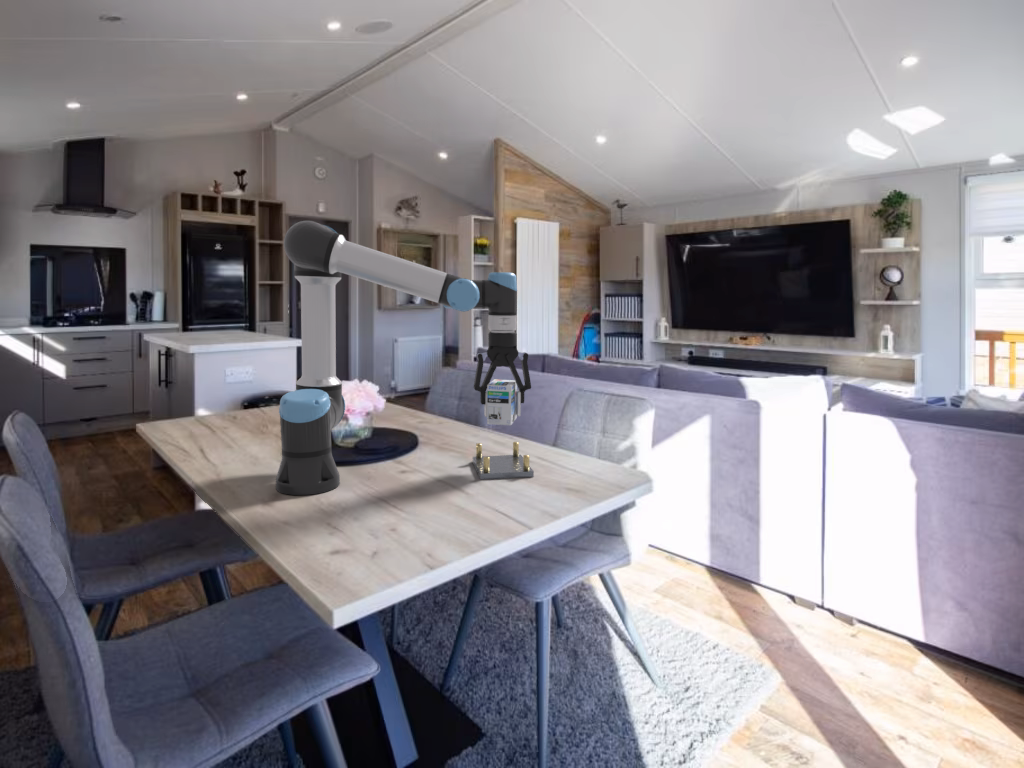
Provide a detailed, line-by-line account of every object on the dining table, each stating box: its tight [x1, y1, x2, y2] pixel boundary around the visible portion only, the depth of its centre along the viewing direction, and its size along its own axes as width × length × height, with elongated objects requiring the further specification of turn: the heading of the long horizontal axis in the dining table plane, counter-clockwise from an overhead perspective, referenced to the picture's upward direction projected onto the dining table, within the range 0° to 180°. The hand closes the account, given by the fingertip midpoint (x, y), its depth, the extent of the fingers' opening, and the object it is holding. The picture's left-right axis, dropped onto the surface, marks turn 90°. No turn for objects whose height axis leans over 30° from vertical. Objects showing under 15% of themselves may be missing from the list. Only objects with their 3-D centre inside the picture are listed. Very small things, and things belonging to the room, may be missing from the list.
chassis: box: [472, 441, 534, 480], centre depth 173 cm, size 14×17×6 cm
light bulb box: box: [486, 378, 518, 426], centre depth 170 cm, size 11×7×11 cm, turn 172°
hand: (502, 415), depth 171 cm, fingers closed on light bulb box, 8 cm apart
